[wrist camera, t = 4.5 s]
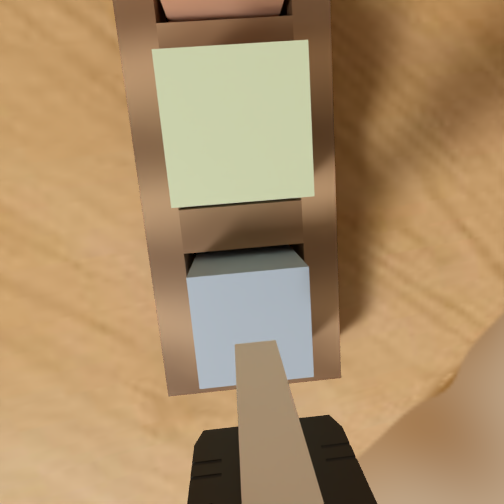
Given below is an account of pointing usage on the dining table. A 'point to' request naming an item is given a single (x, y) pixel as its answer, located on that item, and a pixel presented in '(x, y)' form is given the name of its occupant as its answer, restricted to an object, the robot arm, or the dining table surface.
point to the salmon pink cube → (219, 9)
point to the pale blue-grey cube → (249, 309)
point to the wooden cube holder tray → (231, 214)
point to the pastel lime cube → (236, 122)
